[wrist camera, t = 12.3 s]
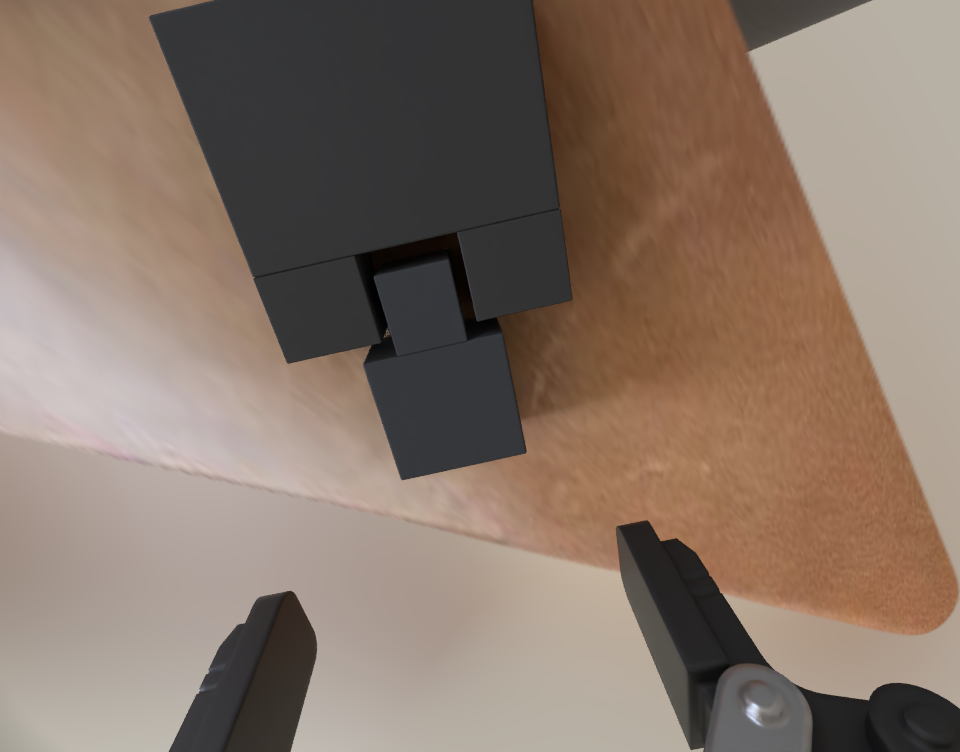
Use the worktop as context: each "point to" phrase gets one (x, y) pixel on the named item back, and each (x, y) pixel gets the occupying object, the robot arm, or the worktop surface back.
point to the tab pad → (440, 373)
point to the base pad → (373, 150)
